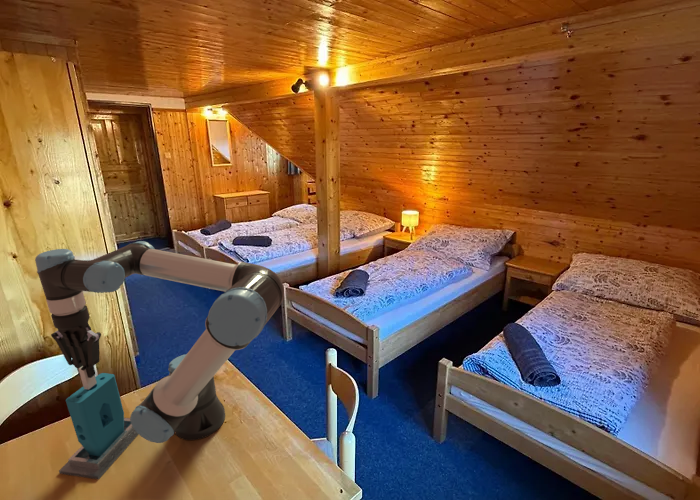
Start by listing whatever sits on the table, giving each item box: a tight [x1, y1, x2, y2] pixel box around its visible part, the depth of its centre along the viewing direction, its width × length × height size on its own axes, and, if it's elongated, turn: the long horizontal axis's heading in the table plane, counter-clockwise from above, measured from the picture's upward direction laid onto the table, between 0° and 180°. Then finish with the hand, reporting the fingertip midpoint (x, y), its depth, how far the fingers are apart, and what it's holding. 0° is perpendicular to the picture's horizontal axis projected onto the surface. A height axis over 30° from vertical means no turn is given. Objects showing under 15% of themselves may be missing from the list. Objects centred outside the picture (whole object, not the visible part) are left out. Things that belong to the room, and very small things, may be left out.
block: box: [65, 372, 125, 457], centre depth 106 cm, size 12×5×20 cm, turn 168°
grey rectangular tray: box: [58, 417, 140, 480], centre depth 109 cm, size 12×20×3 cm, turn 171°
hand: (90, 385), depth 102 cm, fingers closed
